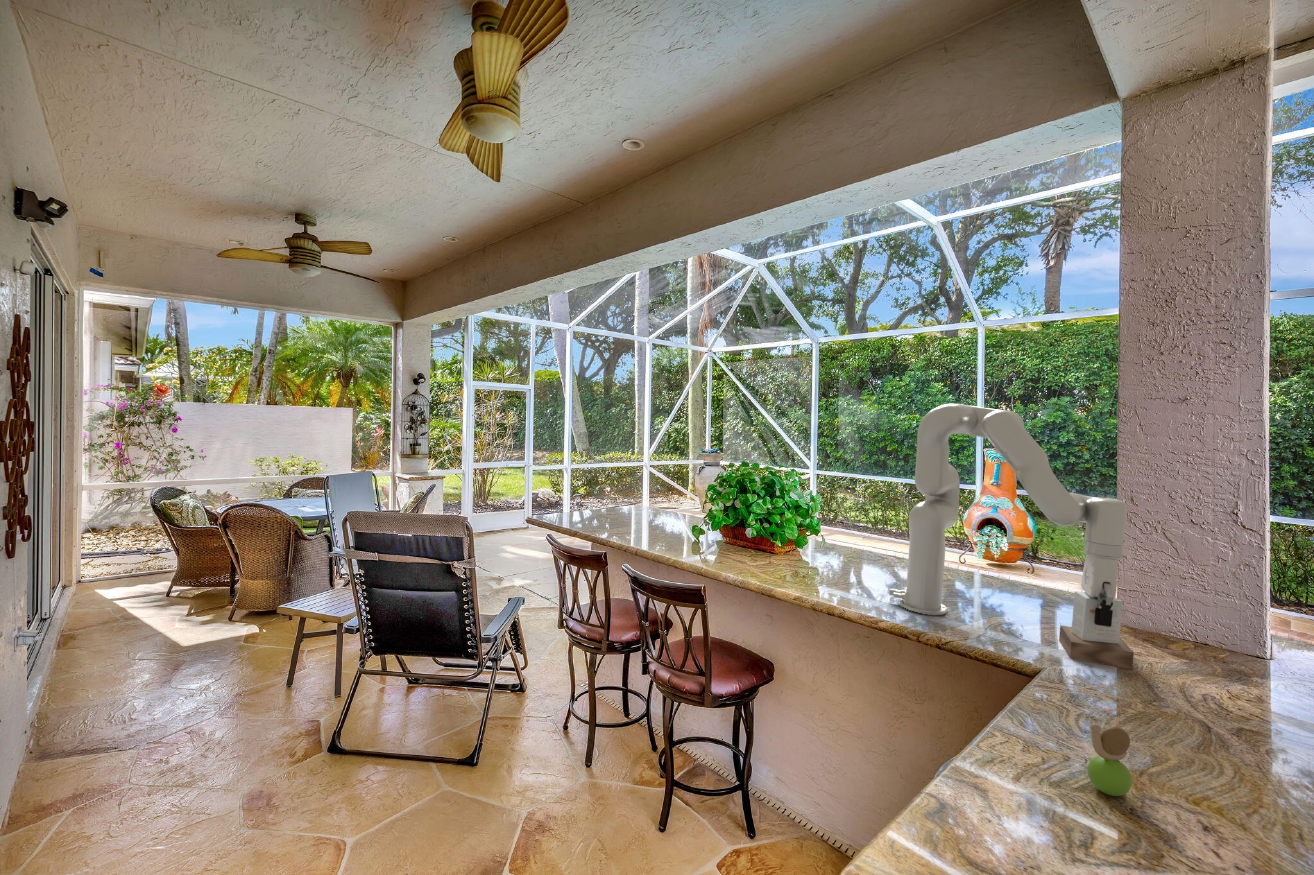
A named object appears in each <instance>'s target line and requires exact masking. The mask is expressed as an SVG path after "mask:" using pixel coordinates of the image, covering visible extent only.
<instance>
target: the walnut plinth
mask: <svg viewBox="0 0 1314 875" xmlns="http://www.w3.org/2000/svg"><path fill="white" fill-rule="evenodd" d="M1058 637H1059V638H1058V641H1059V643H1060V644H1061V647H1062V648H1063V650H1064V651H1065V652H1066V654H1067V656H1068V658H1070V659H1073V660H1079V661H1084V662H1088V663H1089V662H1090V663H1094V664H1095V663H1096V664H1101V665H1107V666H1112V667H1118V668H1123V669H1128V670H1133V666H1134V654H1135V652H1134V651H1133V649H1131V648H1130V647H1129V646H1128V644H1127V643H1126V642H1125V641H1124V640H1123V639H1122V637H1120V638H1119V644H1116V643H1105V642H1094V641H1084V640H1082V639H1080V638H1079V637H1078V636H1076V635H1075V634H1074V633H1072V626H1068V625H1062V624H1061V625H1059V636H1058Z"/></svg>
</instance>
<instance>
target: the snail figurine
mask: <svg viewBox="0 0 1314 875" xmlns="http://www.w3.org/2000/svg"><path fill="white" fill-rule="evenodd" d="M1089 718H1090V719H1091V720H1090V722H1091V724H1090V725H1089V729H1090V731H1091V734H1090V735H1091V737H1090V738H1091V741H1092V742H1091V743H1092V747H1093V749H1094V751H1095V754H1097V755H1096V756H1094V757H1092V758H1091V759H1090V761H1089V762H1088V764H1087V768H1086V769H1087V775H1088V778H1089V780H1090V782H1091V783H1092V785H1093V786H1094V787H1095V788H1096V789H1098V790H1099V791H1100V792H1102V793H1103V794H1105V795H1108V796H1113V797H1120V796H1124V795H1126V794H1127V793H1129V791H1130V790H1131V789H1132V787H1133V786H1132V785H1133V778H1132V775H1131V772H1130V771H1129V768H1127V766H1126V765H1125V764H1124V763H1123V762H1121V760H1123V759H1124V758H1125V757H1126V756H1127V755H1128V750H1129V747H1130V745H1131V738H1130V736H1129V733H1128V732H1127V731H1126V730H1125V729H1123V727H1120V726H1109V727H1106V728H1104V729H1103V730H1102V727H1101V726H1100V725H1099V724H1098V723H1097V722H1098V721H1099V720H1098V718H1097V717H1094V715H1092V714H1091V715H1090V716H1089ZM1092 721H1094V723H1093V722H1092Z"/></svg>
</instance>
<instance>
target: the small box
mask: <svg viewBox="0 0 1314 875" xmlns="http://www.w3.org/2000/svg"><path fill="white" fill-rule="evenodd" d="M1073 594H1074V595H1073V608H1072V621H1071V627H1072V633H1074V634H1075V635H1076V636H1078V637H1079V638H1080V639H1082V640H1084V641H1094V642H1105V643H1116V644H1119V638H1121V636H1120V635H1121V622H1122V614H1123V604H1124V603H1123V601H1122V600H1121V599H1118V598H1117V597H1115V599H1114V600H1113V601H1112V602H1113V614H1112V624H1111V627H1107V626H1101V625H1096V624H1095V623H1094V619H1095V609H1096V607H1097V599H1096V597H1095V596H1094V597H1093V598H1092V597H1090V596H1089V595H1088V594H1087V593H1086V592H1085V591H1074V593H1073ZM1101 596H1103V595H1101ZM1102 601H1103V600H1101V603H1102ZM1097 608H1098V607H1097Z"/></svg>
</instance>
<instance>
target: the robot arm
mask: <svg viewBox="0 0 1314 875" xmlns="http://www.w3.org/2000/svg"><path fill="white" fill-rule="evenodd" d="M952 435H967V436H973V437H980V438H983V439H984V438H986V439H987V440H988V442H989V443H990V445H992V446H993V448H994V449H995V450H996V451H997V452H998V453H999V455H1000V456H1001V457H1002V459H1003V460H1004V461H1005V462H1006V463H1007V465H1008V466H1009V467H1010V468H1011V469H1012V471H1013V472H1014V474H1015V476H1016V478H1017V479H1018V481H1019V482H1020V484H1021V486H1022V487H1023V489H1024V490H1025V492H1026V494H1028V496H1029V498H1030V499H1031V500H1032V501H1033V503H1034V504H1035V505H1036V506H1037V507H1038V509H1039V510H1040V511H1041V512H1042V514H1043V515H1044V516H1045V517H1046V518H1047V519H1048V520H1049V521H1050V522H1052V523H1053V524H1056V525H1058V526H1060V527H1070V526H1073V525H1076V524H1079V523H1085V533H1084V534H1085V535H1084V543H1083V544H1084V545H1083V553H1084V554H1085V559H1084V563H1083V564H1084V565H1083V570H1082V576H1081V582H1080V583H1081V584H1080V587H1081V589H1082V590H1083V592H1086V593H1087V594H1088V595H1089V596H1090V597H1092V598H1093V597H1094V596H1095V597H1096V599H1097V607H1098V608H1097V607H1096V609H1095V619H1094V623H1095V624H1096V625H1101V626H1107V627H1111V624H1112V614H1113V602H1112V601H1113V600H1114V599H1115V598H1116V594H1117V586H1118V569H1119V567H1118V566H1119V565H1118V564H1119V563H1118V562H1119V561H1118V560H1123V557H1124V556H1123V555H1124V548H1125V547H1124V546H1125V536H1126V526H1127V515H1128V506H1127V503H1126V502H1125V501H1123V500H1121V499H1115V498H1110V497H1093V496H1088V495H1084V494H1079V493H1075V492H1069V491H1068V490H1067V489H1066V487H1065V486H1064V485H1063V484H1062V483H1061V482H1060V480H1059V479H1058V478H1057V476H1056V475H1055V473H1054V472H1053V470H1052V468H1051V465H1050V462H1049V459H1048V456H1047V453H1046V451H1044V449H1043V448H1042V447H1041V446H1040V445H1039V444H1038V442H1037V441H1036V440H1035V439H1034V438H1033V437H1032V436H1031V434H1030V433H1029V432H1028V431H1027V430H1026V428H1025V422H1024V420H1023V418H1022V416H1021V415H1020V414H1018V413H1016V412H1014V411H1012V410H1006V409H1005V410H1003V409H995V408H989V407H982V406H974V405H969V404H962V403H946V404H941V405H939V406H937V407H935V408H932V409H931V410H929V411H928V412H927V413H926V414H925V415H924V416H923V418H921V421H920V422H919V424H918V429H917V436H916V437H917V438H916V440H917V442H916V454H915V469H914V470H915V473H914V485H915V488H916V490H917V491H918V492H919V493H920V494H922V495H924V496H925V497H924V498H925V499H924V501H920V502H918V503H916V504H915V505H914V506H913V507H912V509H911V510H910V512H909V514H908V515H909V516H908V530H909V533H908V534H909V543H908V544H909V546H908V563H907V575H906V576H907V577H906V587H905V588H904V589H901V590H900V589H894V588H889V596H892V597H893V598H898V599H899V605H900V607H902V608H903V607H904V608H903V609H905V608H906V609H905V610H907V609H910V610H912V611H915V612H918V613H917V614H919V613H924V614H923V615H925V614H928V615H927V616H942V615H945V614H947V612H948V608H947V606H946V605H944V604H943V603H942V600H943V599H942V598H943V588H944V587H943V585H944V574H945V573H944V572H945V558H946V537H945V531H946V530H948V529H950V528H951V527H953V526H954V525H955V523H956V522H957V520H958V516H959V508H960V507H959V504H960V482H961V480H960V476H959V473H958V471H957V469H956V468H955V467H954V466H953V464H950V463H949V461H950V460H949V458H950V444H949V438H950V436H952ZM1101 595H1103V596H1101ZM1101 600H1103V601H1102V603H1101ZM912 611H911V612H912ZM915 612H914V613H915Z"/></svg>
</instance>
